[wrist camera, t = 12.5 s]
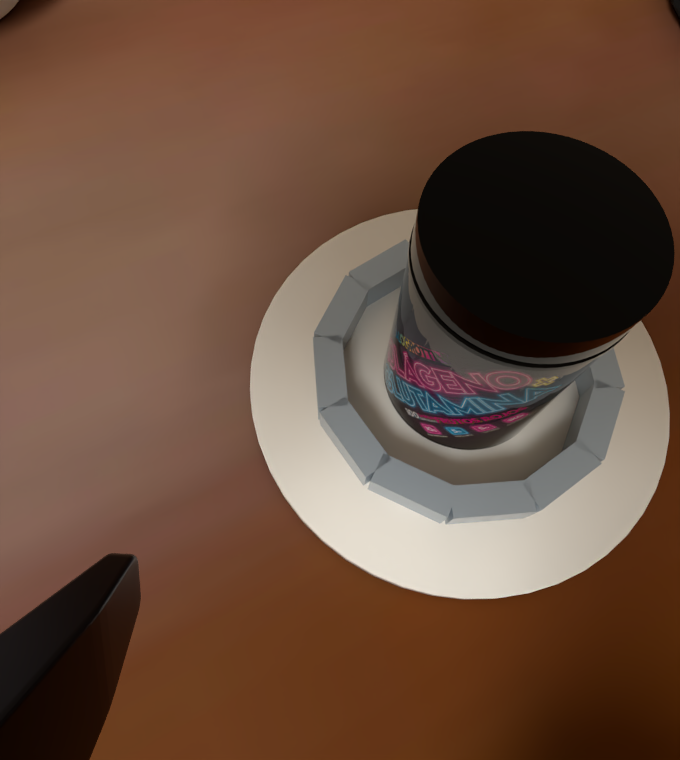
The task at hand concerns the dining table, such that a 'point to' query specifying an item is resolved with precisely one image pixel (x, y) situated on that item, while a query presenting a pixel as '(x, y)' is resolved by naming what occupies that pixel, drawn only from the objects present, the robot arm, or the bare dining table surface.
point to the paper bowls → (6, 6)
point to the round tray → (435, 462)
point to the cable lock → (676, 6)
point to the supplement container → (519, 283)
